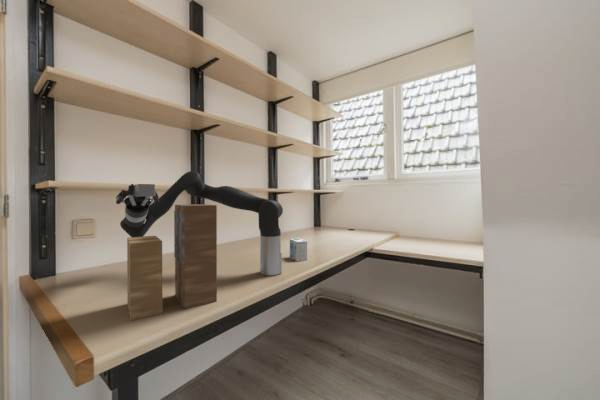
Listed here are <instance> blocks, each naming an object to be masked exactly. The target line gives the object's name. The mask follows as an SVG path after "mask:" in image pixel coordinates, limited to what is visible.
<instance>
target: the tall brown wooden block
mask: <svg viewBox="0 0 600 400" xmlns="http://www.w3.org/2000/svg"><path fill="white" fill-rule="evenodd" d="M217 211H218V209H217V204H205V203H204V204H196V203H195V204H194V203H193V204H192V203H191V204H174V212H173V213H174V215H173V219H174V220H173V221H174V224H173V225H174V227H173V228H174V238H173V239H174V243H173V244H174V247H173V248H174V267H175V268H174V270H175V271H174V278H175V279H174V286H175V287H174V289H175V291H174V295H175V297H176V298H177V300H178V302H179V303H180V305H181V306H182V307H183V308H184V309H185V310H186V309H190V308H193V307H194V308H195V307H198V306H199V307H200V306H202V305H206V304H210V303H214V302H217V301H218V300H217V297H218V296H217V295H218V293H217V292H218V291H217V290H218V289H217V288H218V287H217V286H218V285H217V283H218V282H217V281H218V279H217V278H218V277H217V276H218V274H217V272H218V271H217V268H218V267H217V264H218V263H217V261H218V257H217V256H218V254H217V253H218V252H217V251H218V250H217V249H218V248H217V247H218V246H217V245H218V242H217V241H218V240H217V239H218V236H217V235H218V234H217V233H218V232H217V229H218V228H217V227H218V225H217V224H218V223H217V221H218V220H217V217H218V215H217V214H218V213H217Z"/></svg>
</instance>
